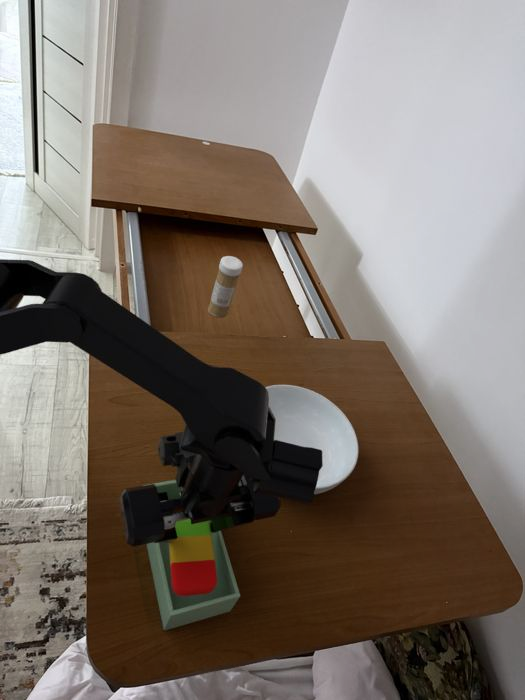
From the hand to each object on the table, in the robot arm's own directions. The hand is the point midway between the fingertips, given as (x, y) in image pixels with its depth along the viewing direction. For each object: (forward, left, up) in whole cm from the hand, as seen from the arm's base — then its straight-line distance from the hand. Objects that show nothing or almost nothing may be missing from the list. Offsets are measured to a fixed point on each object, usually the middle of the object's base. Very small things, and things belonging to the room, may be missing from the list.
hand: (190, 533), depth 66 cm
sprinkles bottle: (+20, +50, -7) cm, 54 cm away
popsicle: (0, 0, -1) cm, 1 cm away
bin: (0, 0, -7) cm, 7 cm away
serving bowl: (+22, +13, -7) cm, 26 cm away
